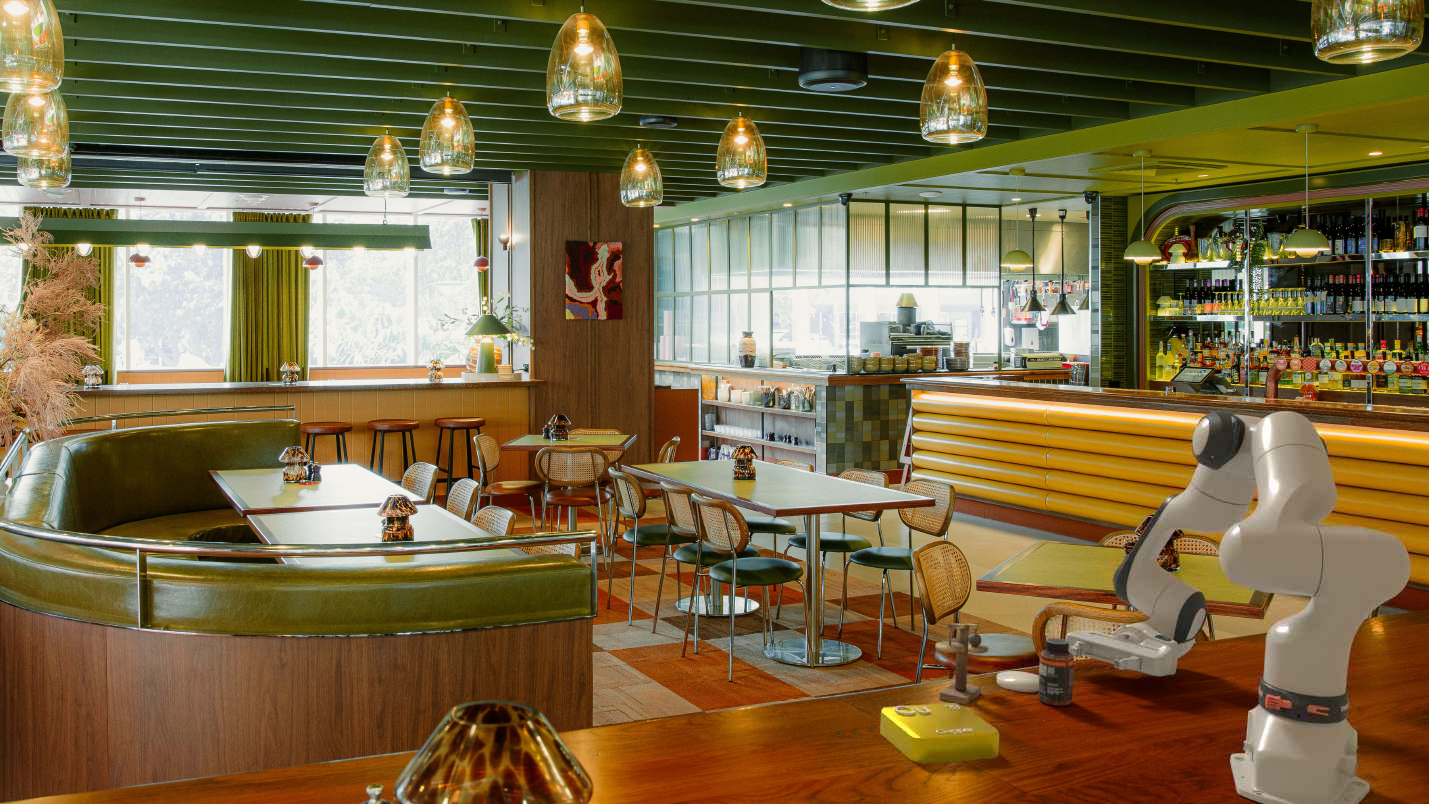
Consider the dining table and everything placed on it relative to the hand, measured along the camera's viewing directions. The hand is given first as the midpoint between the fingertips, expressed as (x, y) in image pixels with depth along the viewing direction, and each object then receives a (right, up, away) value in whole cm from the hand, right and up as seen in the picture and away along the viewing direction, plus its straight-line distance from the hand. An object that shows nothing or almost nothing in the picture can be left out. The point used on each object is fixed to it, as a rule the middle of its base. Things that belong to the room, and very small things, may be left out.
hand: (1095, 658), depth 205 cm
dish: (-13, -6, +2) cm, 15 cm away
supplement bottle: (-10, -6, -7) cm, 14 cm away
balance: (-27, -6, -6) cm, 28 cm away
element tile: (-36, -7, -30) cm, 47 cm away
